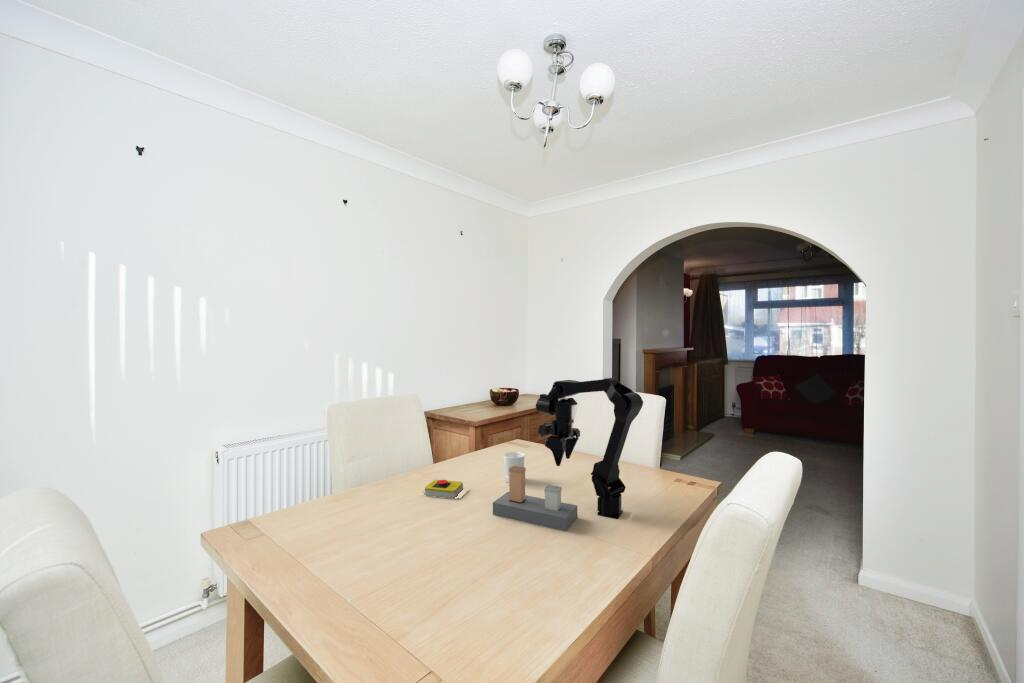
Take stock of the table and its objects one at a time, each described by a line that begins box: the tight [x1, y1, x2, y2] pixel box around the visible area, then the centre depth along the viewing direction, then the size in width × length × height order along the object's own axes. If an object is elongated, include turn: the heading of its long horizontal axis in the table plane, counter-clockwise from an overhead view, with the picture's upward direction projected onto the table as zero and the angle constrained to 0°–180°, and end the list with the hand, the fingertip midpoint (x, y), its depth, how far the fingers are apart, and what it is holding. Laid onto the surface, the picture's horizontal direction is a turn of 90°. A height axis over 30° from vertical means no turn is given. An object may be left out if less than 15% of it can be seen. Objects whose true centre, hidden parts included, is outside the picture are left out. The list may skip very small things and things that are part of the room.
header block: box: [492, 491, 578, 532], centre depth 134 cm, size 24×10×4 cm, turn 63°
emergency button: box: [423, 479, 464, 499], centre depth 154 cm, size 9×4×15 cm
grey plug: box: [544, 484, 562, 511], centre depth 131 cm, size 4×3×10 cm
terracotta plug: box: [508, 466, 527, 502], centre depth 136 cm, size 4×3×10 cm
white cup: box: [503, 451, 526, 484], centre depth 165 cm, size 8×8×10 cm
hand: (563, 462), depth 150 cm, fingers open, 9 cm apart
